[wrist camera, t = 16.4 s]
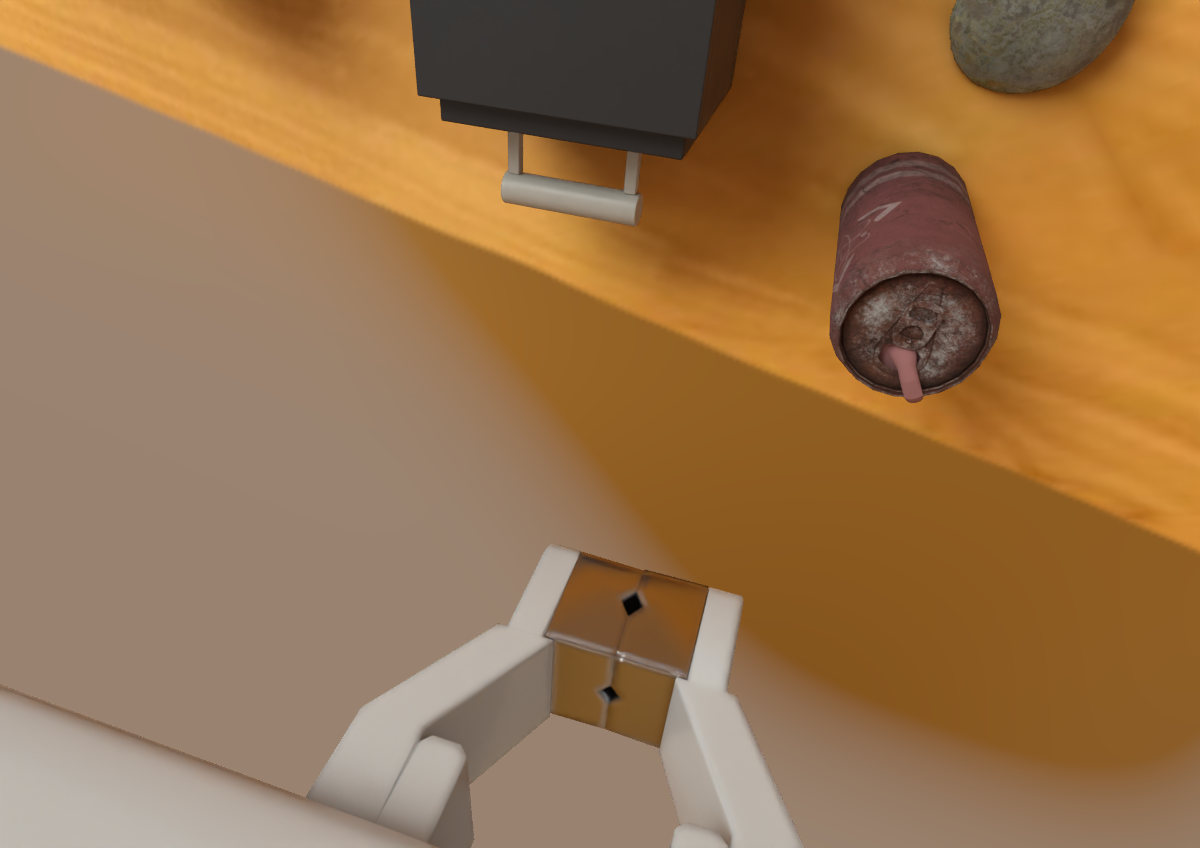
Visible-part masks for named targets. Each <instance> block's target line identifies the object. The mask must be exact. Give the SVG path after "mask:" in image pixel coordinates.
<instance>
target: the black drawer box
mask: <svg viewBox="0 0 1200 848" xmlns="http://www.w3.org/2000/svg"><path fill="white" fill-rule="evenodd" d="M745 2H746V0H410V7H411V19H412V31H413V43H414V55H415V68H416V80H417V92H418V95H419V96H424V97H430V98H436V99H443V100H449V101H455V102H461V103H468V104H474V105H480V106H487V107H493V108H499V109H505V110H512V111H518V112H524V113H530V114H537V115H543V116H549V117H556V118H562V119H568V120H574V121H581V122H587V123H593V124H599V125H606V126H612V127H618V128H625V129H631V130H637V131H643V132H650V133H656V134H662V135H668V136H675V137H681V138H687V139H694V140H695V139H697V137H698V136H699V134H700V133H701V131H702V130H703V128H704V127H705V125H706V124H707V122H708V121H709V119H710V118H711V116H712V115H713V113H714V112H715V110H716V109H717V107H718V106H719V104H720V103H721V101H722V100H723V99H724V97H725V96H726V94H727V93H728V91H729V89H730V88H731V86H732V80H733V74H734V68H735V62H736V56H737V50H738V44H739V38H740V32H741V26H742V20H743V14H744V8H745Z"/></svg>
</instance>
